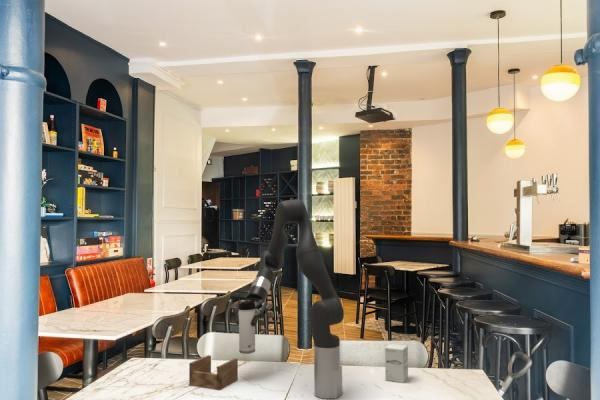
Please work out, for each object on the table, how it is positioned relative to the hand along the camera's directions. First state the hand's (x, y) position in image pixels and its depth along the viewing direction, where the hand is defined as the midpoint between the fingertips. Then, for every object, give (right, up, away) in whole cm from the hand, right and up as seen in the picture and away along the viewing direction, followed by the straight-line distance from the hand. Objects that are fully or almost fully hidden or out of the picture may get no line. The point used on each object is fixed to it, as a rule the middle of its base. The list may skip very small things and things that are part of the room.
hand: (244, 324), depth 180 cm
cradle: (-12, -22, -3) cm, 25 cm away
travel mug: (+1, -11, +1) cm, 11 cm away
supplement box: (+59, -21, -1) cm, 63 cm away
